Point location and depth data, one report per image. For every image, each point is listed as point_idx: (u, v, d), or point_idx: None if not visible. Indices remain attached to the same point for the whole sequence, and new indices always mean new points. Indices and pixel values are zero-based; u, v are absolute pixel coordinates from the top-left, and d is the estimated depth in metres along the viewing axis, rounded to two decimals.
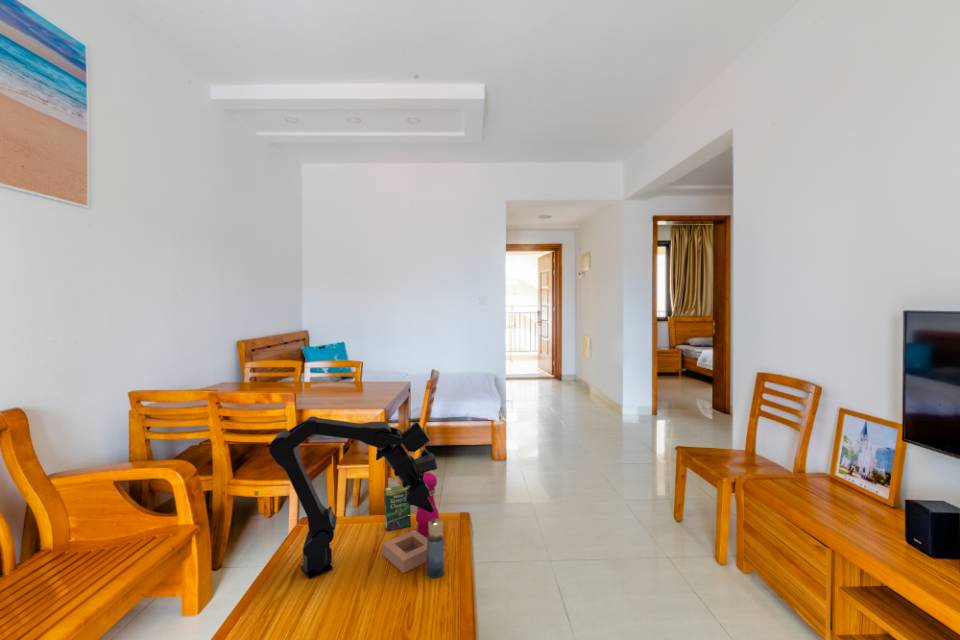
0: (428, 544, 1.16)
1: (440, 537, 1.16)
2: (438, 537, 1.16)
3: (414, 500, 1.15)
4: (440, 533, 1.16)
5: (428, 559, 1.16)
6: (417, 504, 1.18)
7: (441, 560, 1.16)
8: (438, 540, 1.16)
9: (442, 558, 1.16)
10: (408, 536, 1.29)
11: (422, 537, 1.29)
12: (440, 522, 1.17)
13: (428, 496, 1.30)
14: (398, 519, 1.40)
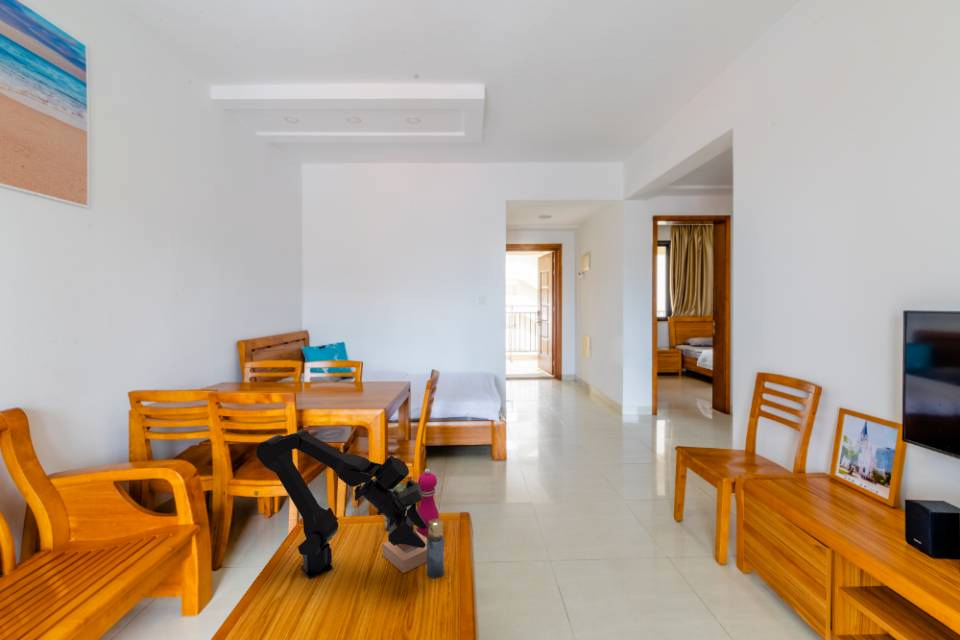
0: (428, 544, 1.16)
1: (440, 537, 1.16)
2: (438, 537, 1.16)
3: (397, 540, 1.07)
4: (440, 533, 1.16)
5: (428, 559, 1.16)
6: (404, 542, 1.10)
7: (441, 560, 1.16)
8: (438, 540, 1.16)
9: (442, 558, 1.16)
10: None
11: (422, 537, 1.29)
12: (440, 522, 1.17)
13: (425, 527, 1.21)
14: None
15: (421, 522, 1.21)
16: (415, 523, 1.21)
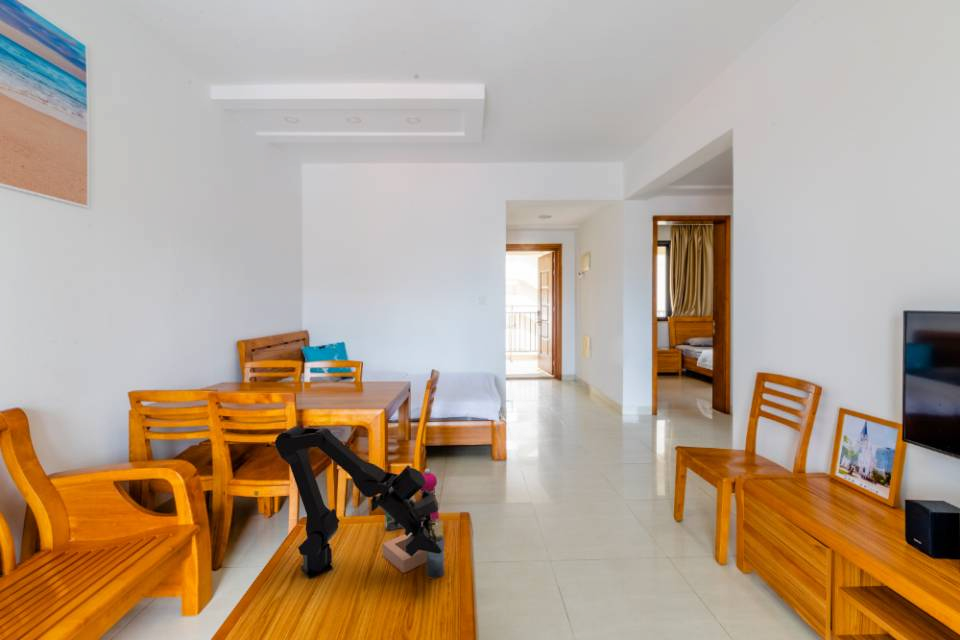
0: None
1: (440, 537, 1.16)
2: (438, 537, 1.16)
3: (414, 551, 1.08)
4: (440, 533, 1.16)
5: (428, 559, 1.16)
6: (421, 548, 1.13)
7: (441, 560, 1.16)
8: (438, 540, 1.16)
9: (442, 558, 1.16)
10: (408, 536, 1.29)
11: None
12: (440, 522, 1.17)
13: None
14: None
15: None
16: None
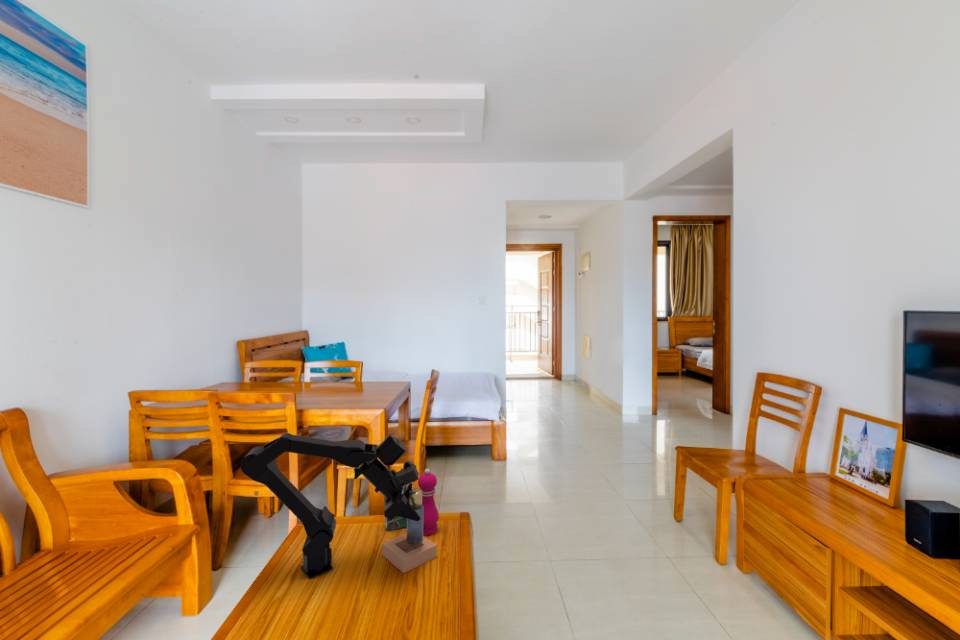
0: None
1: (420, 506, 1.21)
2: (418, 505, 1.21)
3: (392, 515, 1.13)
4: (420, 502, 1.21)
5: (408, 526, 1.21)
6: (400, 514, 1.18)
7: (420, 528, 1.21)
8: (418, 508, 1.21)
9: (421, 526, 1.21)
10: None
11: None
12: (420, 491, 1.22)
13: None
14: (398, 519, 1.40)
15: None
16: None
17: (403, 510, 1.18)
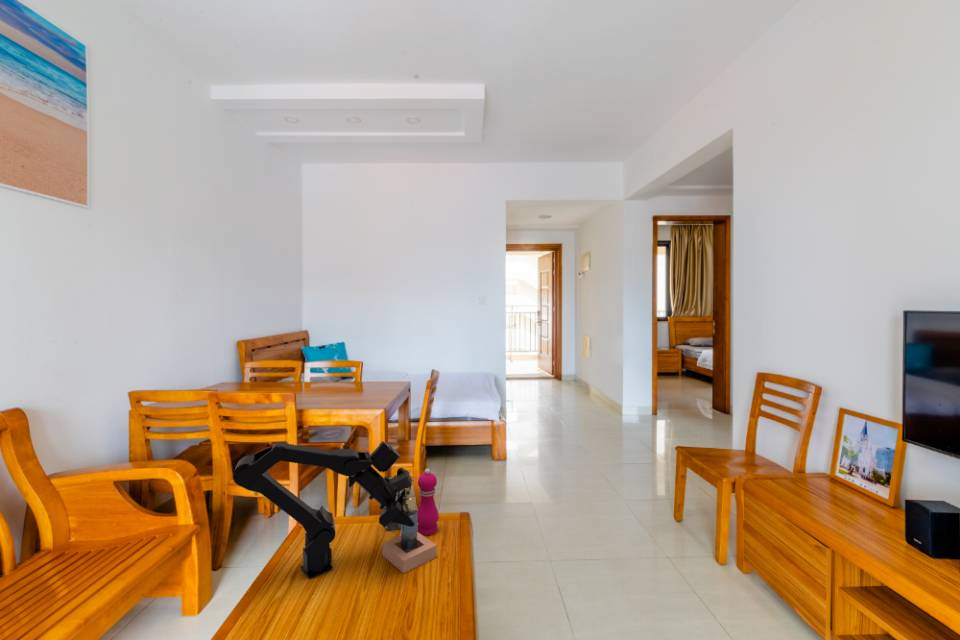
0: None
1: (413, 511, 1.24)
2: (411, 511, 1.23)
3: (387, 522, 1.15)
4: (413, 507, 1.24)
5: (402, 532, 1.23)
6: (395, 521, 1.20)
7: (414, 533, 1.24)
8: (411, 514, 1.23)
9: (415, 531, 1.24)
10: None
11: (422, 537, 1.29)
12: (414, 497, 1.24)
13: None
14: None
15: None
16: None
17: (397, 516, 1.21)
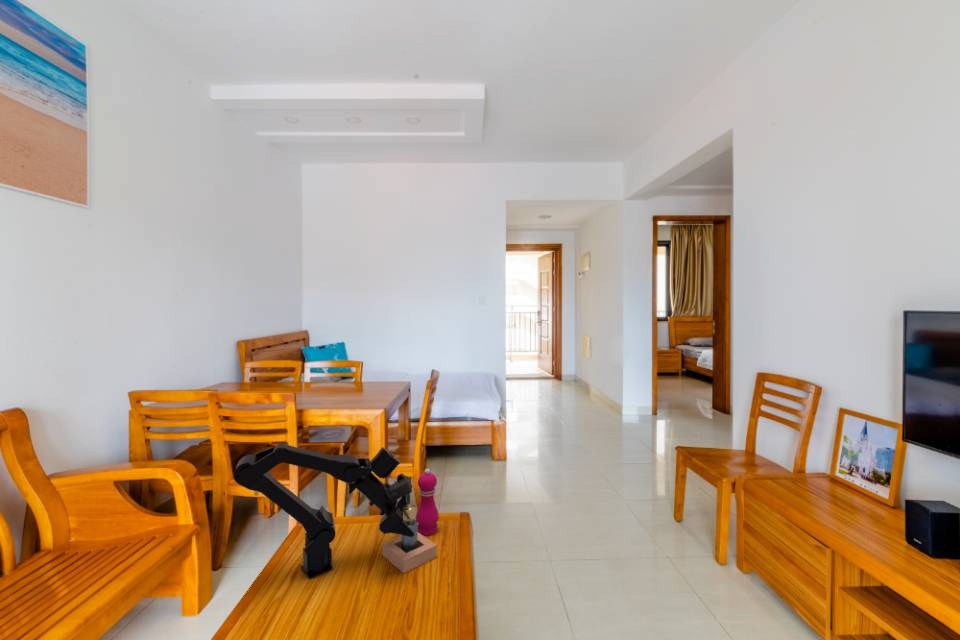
0: None
1: (413, 521, 1.24)
2: (411, 521, 1.23)
3: (387, 529, 1.15)
4: (413, 517, 1.24)
5: (402, 542, 1.24)
6: (394, 531, 1.18)
7: (414, 543, 1.24)
8: (411, 524, 1.23)
9: (415, 540, 1.24)
10: None
11: (422, 537, 1.29)
12: (414, 507, 1.24)
13: None
14: None
15: None
16: None
17: (397, 526, 1.19)
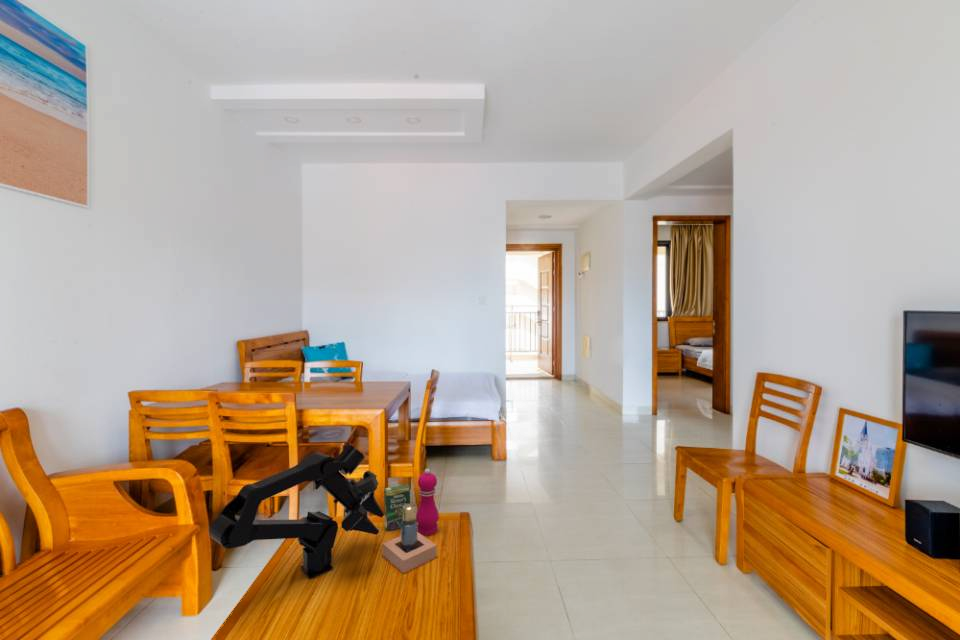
0: (402, 527, 1.23)
1: (413, 521, 1.24)
2: (411, 520, 1.23)
3: (349, 526, 1.14)
4: (413, 517, 1.24)
5: (402, 541, 1.24)
6: (358, 528, 1.17)
7: (414, 542, 1.24)
8: (411, 523, 1.23)
9: (415, 540, 1.24)
10: None
11: (422, 537, 1.29)
12: (413, 507, 1.25)
13: (382, 515, 1.29)
14: (398, 519, 1.40)
15: (378, 511, 1.28)
16: (373, 511, 1.28)
17: (360, 524, 1.18)
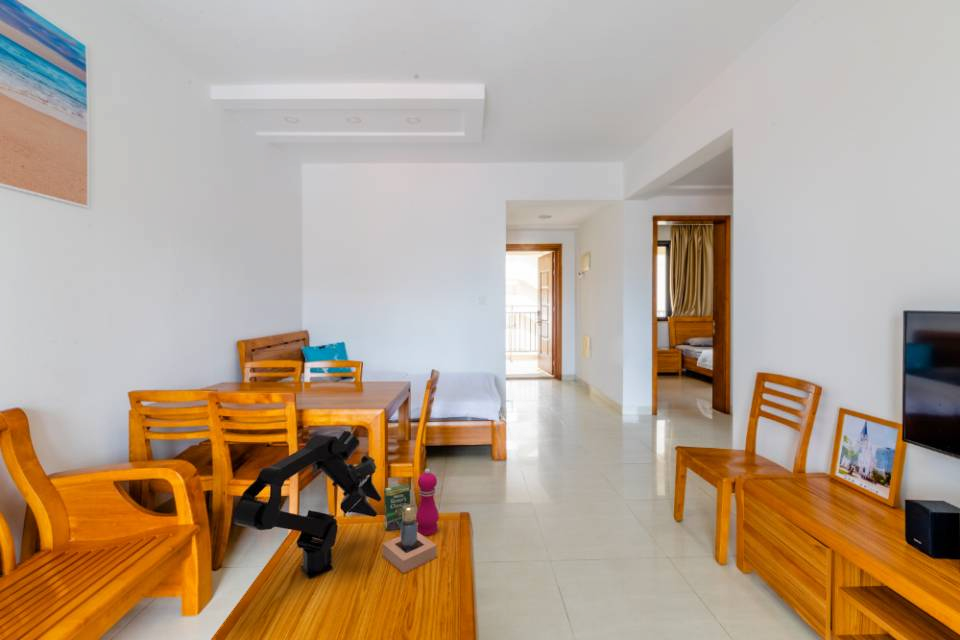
0: (402, 528, 1.23)
1: (413, 521, 1.24)
2: (411, 521, 1.23)
3: (348, 508, 1.16)
4: (413, 517, 1.24)
5: (402, 542, 1.23)
6: (356, 511, 1.19)
7: (414, 543, 1.24)
8: (411, 524, 1.23)
9: (415, 540, 1.24)
10: None
11: (422, 537, 1.29)
12: (413, 507, 1.24)
13: (380, 499, 1.30)
14: (398, 519, 1.40)
15: (376, 495, 1.30)
16: (370, 496, 1.30)
17: (359, 506, 1.20)
